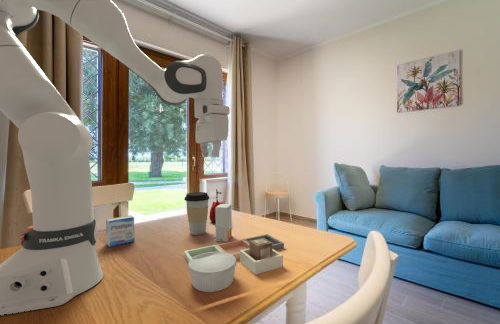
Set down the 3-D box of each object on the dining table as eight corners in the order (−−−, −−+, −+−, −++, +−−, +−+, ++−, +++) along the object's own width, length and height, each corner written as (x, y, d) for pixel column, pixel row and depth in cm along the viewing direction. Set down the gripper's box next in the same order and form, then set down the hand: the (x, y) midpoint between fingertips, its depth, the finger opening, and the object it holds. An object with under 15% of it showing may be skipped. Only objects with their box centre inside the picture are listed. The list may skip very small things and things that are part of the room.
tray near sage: (193, 271, 61) (192, 264, 61) (184, 257, 70) (184, 250, 70) (227, 263, 66) (227, 256, 66) (215, 251, 74) (215, 244, 74)
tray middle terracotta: (227, 263, 66) (227, 256, 66) (215, 251, 74) (215, 244, 74) (257, 255, 70) (257, 249, 70) (242, 245, 79) (242, 239, 79)
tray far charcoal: (257, 256, 70) (257, 249, 70) (242, 245, 79) (242, 239, 79) (284, 249, 75) (283, 243, 75) (267, 239, 83) (267, 234, 83)
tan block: (258, 269, 61) (257, 245, 61) (249, 262, 65) (249, 240, 65) (272, 265, 63) (272, 242, 63) (263, 258, 67) (263, 237, 67)
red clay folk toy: (227, 219, 110) (227, 187, 109) (224, 224, 103) (224, 189, 102) (211, 219, 110) (210, 187, 110) (207, 223, 103) (206, 189, 103)
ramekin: (216, 266, 64) (216, 247, 64) (246, 281, 56) (246, 259, 56) (179, 283, 56) (178, 261, 56) (207, 303, 48) (207, 278, 48)
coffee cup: (215, 231, 93) (214, 192, 93) (197, 238, 86) (196, 196, 85) (197, 227, 99) (196, 191, 98) (179, 234, 91) (178, 194, 90)
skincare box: (227, 242, 81) (226, 207, 80) (215, 242, 82) (214, 207, 81) (232, 236, 87) (231, 203, 86) (221, 236, 88) (220, 203, 87)
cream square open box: (255, 276, 58) (254, 262, 58) (239, 263, 66) (239, 250, 66) (283, 268, 62) (282, 255, 62) (265, 256, 70) (265, 244, 70)
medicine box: (109, 247, 78) (108, 221, 78) (106, 244, 81) (105, 218, 81) (135, 241, 83) (134, 216, 83) (131, 238, 87) (130, 214, 86)
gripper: (190, 116, 81) (191, 157, 81) (210, 104, 63) (211, 157, 63) (208, 117, 84) (209, 156, 84) (232, 106, 66) (233, 157, 66)
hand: (210, 157), depth 74 cm, fingers open, 8 cm apart
